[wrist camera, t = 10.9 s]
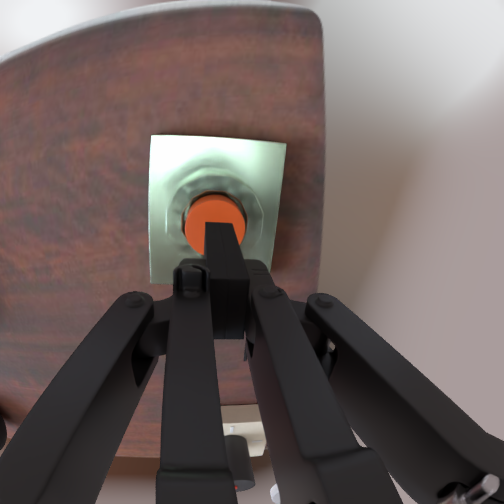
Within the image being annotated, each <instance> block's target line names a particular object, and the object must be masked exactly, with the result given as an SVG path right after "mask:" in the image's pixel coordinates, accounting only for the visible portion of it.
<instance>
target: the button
mask: <svg viewBox="0 0 504 504" xmlns="http://www.w3.org/2000/svg"><path fill="white" fill-rule="evenodd" d="M205 222H223V223H232V224H233V227H234V230H235V233H236V236H237V239H238V243H239V245H240V243H241V242H242V240H243V238H244V234H245V222H244V218H243V216H242V214H241V212H240V209H239V208H238V206H237V205H236V204H235V203H234V202H233V201H232V200H231V199H229V198H227V197H225V196H222V195H207V196H204V197H202V198H200V199H198V200H197V201H196V202H195V203H194V204H193V205H192V206H191V207H190V209H189V211H188V214H187V218H186V224H185V234H186V238H187V240H188V242H189V244H190V245H191V247H192V248H193V249H194V250H195V251H197V252H198V253H200V254H202V255H204V237H205Z"/></svg>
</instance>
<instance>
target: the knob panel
mask: <svg viewBox="0 0 504 504" xmlns="http://www.w3.org/2000/svg"><path fill="white" fill-rule="evenodd" d="M221 414H222V422H223V430H224V436H227V435H238V436H242V437H244V438H245V439H246V440H247V444H248V450H249V455H250V456H261V455H263V451H264V448H265V445H266V438H265V433H264V429H263V425H262V420H261V416H260V412H259V407H258V404H252V405H229V406H221Z"/></svg>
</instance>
